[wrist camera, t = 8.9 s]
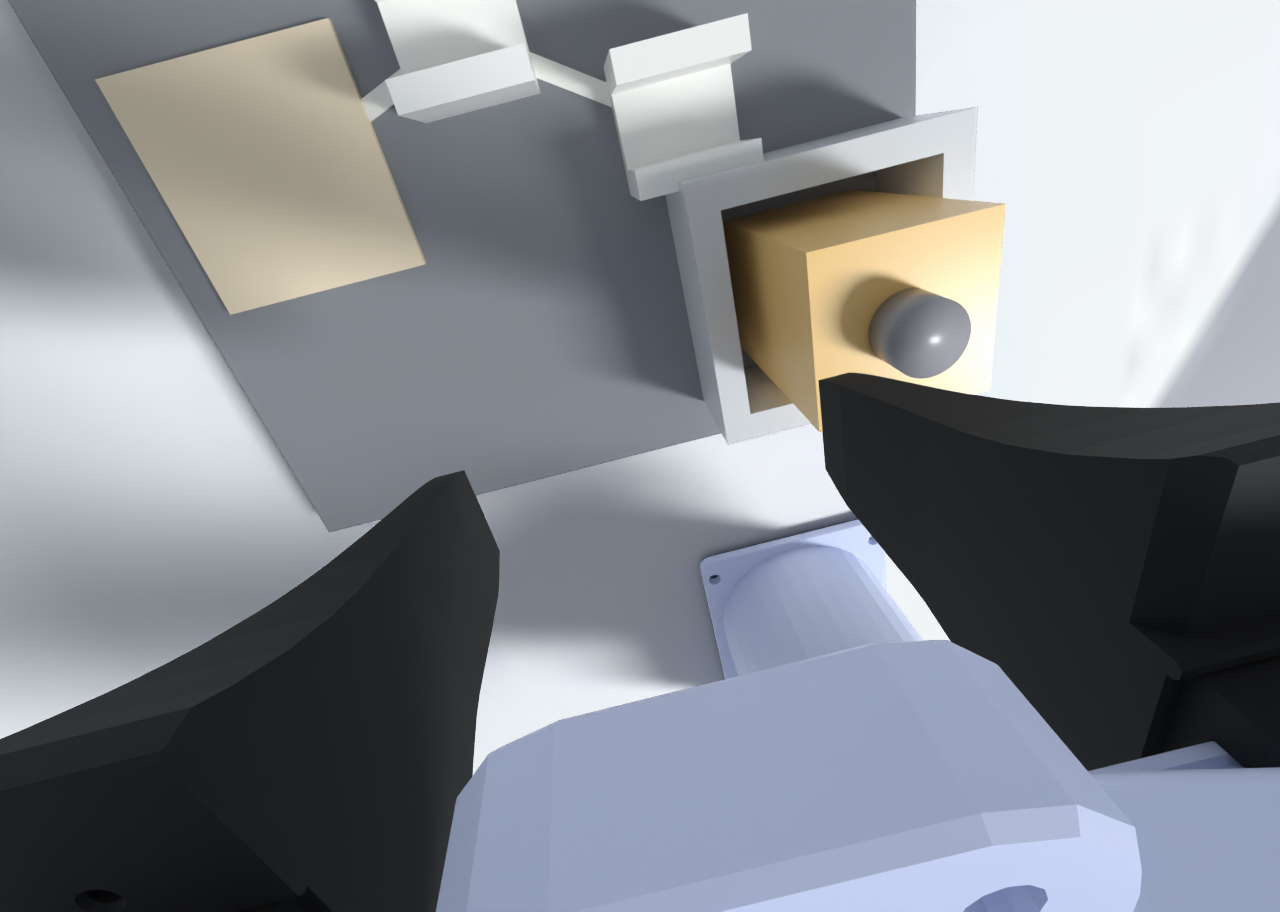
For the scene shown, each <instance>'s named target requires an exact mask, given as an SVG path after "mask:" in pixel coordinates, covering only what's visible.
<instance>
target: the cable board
mask: <svg viewBox="0 0 1280 912" xmlns="http://www.w3.org/2000/svg"><path fill="white" fill-rule="evenodd" d="M8 1H9V3H10V4H11V6H12V8H13V9H14V11H15V13H16V14H17V16H18V18H19V19H20V21H21V23H22V24H23V26H24V28H25V29H26V31H27V33H28V34H29V36H30V38H31V39H32V41H33V43H34V44H35V46H36V48H37V49H38V51H39V52H40V54H41V56H42V57H43V59H44V61H45V62H46V64H47V66H48V67H49V69H50V71H51V72H52V74H53V76H54V77H55V79H56V81H57V82H58V84H59V86H60V87H61V89H62V91H63V92H64V94H65V96H66V97H67V99H68V101H69V102H70V104H71V105H72V107H73V109H74V110H75V112H76V114H77V115H78V117H79V119H80V120H81V122H82V124H83V125H84V127H85V129H86V130H87V132H88V134H89V135H90V137H91V139H92V140H93V142H94V144H95V145H96V147H97V149H98V150H99V152H100V154H101V155H102V157H103V158H104V160H105V162H106V163H107V165H108V167H109V168H110V170H111V172H112V173H113V175H114V177H115V178H116V180H117V182H118V183H119V185H120V187H121V188H122V190H123V192H124V193H125V195H126V197H127V198H128V200H129V202H130V203H131V205H132V207H133V208H134V210H135V211H136V213H137V215H138V216H139V218H140V220H141V221H142V223H143V225H144V226H145V228H146V230H147V231H148V233H149V235H150V236H151V238H152V240H153V241H154V243H155V245H156V246H157V248H158V250H159V251H160V253H161V255H162V256H163V258H164V260H165V261H166V263H167V265H168V266H169V268H170V269H171V271H172V273H173V274H174V276H175V278H176V279H177V281H178V283H179V284H180V286H181V288H182V289H183V291H184V293H185V294H186V296H187V298H188V299H189V301H190V303H191V304H192V306H193V308H194V309H195V311H196V313H197V314H198V316H199V318H200V319H201V321H202V322H203V324H204V326H205V327H206V329H207V331H208V332H209V334H210V336H211V337H212V339H213V341H214V342H215V344H216V346H217V347H218V349H219V351H220V352H221V354H222V356H223V357H224V359H225V361H226V362H227V364H228V366H229V367H230V369H231V371H232V372H233V374H234V375H235V377H236V379H237V380H238V382H239V384H240V385H241V387H242V389H243V390H244V392H245V394H246V395H247V397H248V399H249V400H250V402H251V404H252V405H253V407H254V409H255V410H256V412H257V414H258V415H259V417H260V419H261V420H262V422H263V424H264V425H265V427H266V428H267V430H268V432H269V433H270V435H271V437H272V438H273V440H274V442H275V443H276V445H277V447H278V448H279V450H280V452H281V453H282V455H283V457H284V458H285V460H286V462H287V463H288V465H289V467H290V468H291V470H292V472H293V473H294V475H295V477H296V478H297V480H298V482H299V483H300V485H301V486H302V488H303V490H304V491H305V493H306V495H307V496H308V498H309V500H310V501H311V503H312V505H313V506H314V508H315V510H316V511H317V513H318V515H319V516H320V518H321V520H322V521H323V523H324V525H325V526H326V528H327V530H328V531H329V532H333V531H337V530H341V529H345V528H348V527H352V526H356V525H360V524H364V523H368V522H372V521H376V520H380V519H383V518H384V517H386V516H387V515H388V514H389V513H390V512H391V511H393V510H394V509H395V508H396V507H397V506H398V505H400V504H401V503H402V502H403V501H404V500H405V499H407V498H408V497H409V496H410V495H411V494H413V493H414V492H415V491H416V490H417V489H419V488H420V487H421V486H423V485H424V484H425V483H427V482H428V481H430V480H432V479H433V478H435V477H439V476H443V475H447V474H451V473H455V472H459V471H463V470H465V473H466V475H467V477H468V480H469V482H470V484H471V487H472V489H473V491H474V493H475V495H479V494H483V493H487V492H491V491H495V490H499V489H503V488H506V487H510V486H514V485H518V484H522V483H526V482H530V481H534V480H538V479H542V478H546V477H550V476H554V475H558V474H562V473H566V472H570V471H574V470H578V469H582V468H586V467H589V466H593V465H597V464H601V463H605V462H609V461H613V460H617V459H621V458H625V457H629V456H633V455H637V454H641V453H645V452H649V451H653V450H657V449H661V448H665V447H668V446H672V445H676V444H680V443H684V442H688V441H692V440H696V439H700V438H704V437H708V436H712V435H716V434H720V433H722V435H723V437H724V438H725V440H726V442H727V444H728V445H729V444H733V443H737V442H741V441H745V440H749V439H753V438H757V437H761V436H765V435H769V434H773V433H776V432H780V431H784V430H788V429H792V428H796V427H800V426H804V425H808V424H811V422H810V421H809V420H808V419H807V418H806V417H805V416H804V415H803V414H802V413H801V412H800V410H799V409H798V408H797V407H796V406H795V405H794V404H793V403H792V402H791V401H790V400H789V398H788V397H787V396H786V395H785V394H784V393H783V392H782V391H781V390H780V389H779V388H778V387H777V385H776V384H775V383H774V382H773V381H772V380H771V379H770V378H769V377H768V376H767V375H766V373H765V372H764V371H763V370H762V369H761V368H760V367H759V366H758V365H757V364H756V363H755V361H754V360H753V359H752V358H751V357H750V356H749V355H748V354H747V353H746V352H745V351H744V349H743V348H742V347H741V346H740V339H739V332H738V325H737V319H736V312H735V305H734V298H733V291H732V285H731V278H730V271H729V263H728V256H727V249H726V241H725V234H724V227H723V221H724V220H728V219H732V218H736V217H740V216H745V215H749V214H753V213H757V212H761V211H765V210H769V209H773V208H777V207H781V206H785V205H789V204H793V203H797V202H801V201H805V200H810V199H814V198H818V197H822V196H826V195H830V194H834V193H838V192H842V191H846V190H850V189H851V190H862V191H873V192H883V193H894V194H905V195H916V196H926V197H937V198H948V199H959V200H970V201H973V196H974V176H975V155H976V135H977V115H978V107H974V108H967V109H960V110H953V111H946V112H938V113H931V114H924V115H917V116H915V92H916V0H8Z"/></svg>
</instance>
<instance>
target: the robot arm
mask: <svg viewBox="0 0 1280 912" xmlns="http://www.w3.org/2000/svg"><path fill="white" fill-rule="evenodd" d="M818 381H819V393H820V406H821V418H822V430H823V442H824V455H825V467H826V470H827V472H828V474H829V476H830V477H831V479H832V481H833V483H834V484H835V486H836V488H837V490H838V491H839V493H840V495H841V496H842V498H843V499H844V501H845V503H846V504H847V506H848V507H849V508H850V510H851V511H852V512H853V513H854V515H855V516H856V517H857V518H858V520H854V521H850V522H846V523H842V524H838V525H834V526H830V527H826V528H822V529H818V530H814V531H810V532H806V533H802V534H798V535H794V536H790V537H786V538H782V539H778V540H774V541H770V542H766V543H762V544H758V545H754V546H750V547H746V548H742V549H738V550H734V551H730V552H726V553H722V554H718V555H714V556H710V557H707V558H705V559H704V560H703V561H702V562H701V564H700V571H701V576H702V580H703V584H704V589H705V593H706V598H707V602H708V606H709V611H710V615H711V620H712V624H713V629H714V633H715V637H716V642H717V646H718V651H719V655H720V659H721V664H722V668H723V673H724V677H725V679H724V680H720V681H716V682H712V683H708V684H704V685H700V686H696V687H692V688H688V689H684V690H680V691H676V692H672V693H668V694H664V695H659V696H655V697H651V698H647V699H643V700H639V701H635V702H631V703H627V704H623V705H619V706H615V707H611V708H607V709H603V710H599V711H595V712H591V713H587V714H583V715H579V716H575V717H571V718H567V719H563V720H559V721H557V722H554V723H552V724H550V725H548V726H546V727H544V728H541V729H539V730H537V731H535V732H533V733H531V734H528V735H526V736H524V737H522V738H520V739H518V740H515V741H513V742H511V743H509V744H507V745H505V746H502V747H501V748H499V749H497V750H495V751H493V752H492V753H490V754H488V756H487V757H486V758H485V760H484V761H483V763H482V764H481V765H480V767H479V768H478V769H477V771H476V772H475V774H474V775H473V776H472V773H473V757H474V743H475V730H476V716H477V708H478V701H479V694H480V688H481V683H482V678H483V673H484V667H485V662H486V657H487V652H488V647H489V641H490V636H491V631H492V626H493V620H494V615H495V609H496V604H497V598H498V589H499V549H498V546H497V544H496V542H495V539H494V537H493V535H492V533H491V530H490V528H489V526H488V523H487V521H486V519H485V516H484V514H483V512H482V510H481V507H480V505H479V503H478V500H477V498H476V496H475V493H474V491H473V489H472V487H471V484H470V482H469V480H468V477H467V475H466V473H465V470H463V471H459V472H455V473H451V474H447V475H443V476H439V477H435V478H433V479H432V480H430V481H428V482H427V483H425V484H424V485H423V486H421V487H420V488H419V489H417V490H416V491H415V492H414V493H413V494H411V495H410V496H409V497H408V498H407V499H405V500H404V501H403V502H402V503H401V504H400V505H398V506H397V507H396V508H395V509H394V510H393V511H391V512H390V513H389V514H388V515H387V516H386V517H384V518H383V519H382V520H381V521H380V522H379V523H377V524H376V525H375V526H374V527H373V528H372V529H370V530H369V531H368V532H367V533H366V534H365V535H363V536H362V537H361V538H360V539H358V540H357V541H356V542H355V543H353V544H352V545H351V546H350V547H348V548H347V549H346V550H345V551H343V552H342V553H341V554H340V555H338V556H337V557H336V558H335V559H333V560H332V561H331V562H330V563H328V564H327V565H326V566H325V567H323V568H322V569H321V570H319V571H318V572H317V573H315V574H314V575H312V576H311V577H310V578H308V579H307V580H305V581H304V582H303V583H301V584H300V585H298V586H297V587H295V588H294V589H292V590H291V591H289V592H288V593H286V594H285V595H284V596H282V597H281V598H279V599H278V600H276V601H275V602H273V603H272V604H270V605H268V606H267V607H265V608H264V609H262V610H260V611H259V612H257V613H255V614H254V615H252V616H250V617H249V618H247V619H245V620H243V621H242V622H240V623H238V624H237V625H235V626H233V627H232V628H230V629H228V630H227V631H225V632H223V633H222V634H220V635H218V636H216V637H215V638H213V639H211V640H210V641H208V642H206V643H204V644H203V645H201V646H199V647H197V648H195V649H193V650H191V651H190V652H188V653H186V654H184V655H182V656H180V657H178V658H176V659H174V660H173V661H171V662H169V663H167V664H165V665H163V666H161V667H159V668H157V669H155V670H153V671H151V672H149V673H147V674H145V675H143V676H141V677H139V678H137V679H135V680H133V681H131V682H129V683H127V684H125V685H122V686H120V687H118V688H116V689H114V690H112V691H110V692H108V693H106V694H103V695H101V696H99V697H97V698H94V699H92V700H90V701H88V702H85V703H83V704H81V705H78V706H76V707H74V708H72V709H69V710H67V711H65V712H63V713H60V714H58V715H56V716H54V717H51V718H49V719H47V720H44V721H42V722H40V723H38V724H35V725H33V726H31V727H29V728H26V729H24V730H22V731H19V732H17V733H14V734H12V735H10V736H7V737H5V738H2V739H0V912H1280V403H1269V404H1256V405H1238V406H1213V407H1190V408H1189V407H1187V408H1119V407H1085V406H1066V405H1054V404H1043V403H1032V402H1021V401H1012V400H1004V399H997V398H991V397H984V396H978V395H972V394H965V393H960V392H954V391H949V390H944V389H939V388H933V387H929V386H924V385H919V384H914V383H909V382H905V381H900V380H895V379H890V378H886V377H881V376H875V375H869V374H863V373H845V374H841V375H837V376H833V377H829V378H825V379H821V380H818ZM871 536H872V537H873V538H872V539H869V538H870V537H871ZM886 554H887V555H888V556H889V557H890V558H891V560H892V561H893V562H894V563H895V564H896V566H897V567H898V568H899V569H900V570H901V572H902V573H903V574H904V575H905V577H906V578H907V579H908V580H909V581H910V583H911V584H912V585H913V586H914V588H915V589H916V590H917V592H918V593H919V594H920V596H921V597H922V598H923V600H924V601H925V602H926V604H927V605H928V607H929V608H930V610H931V612H932V613H933V615H934V616H935V618H936V619H937V621H938V622H939V624H940V625H941V627H942V628H943V630H944V632H945V633H946V635H947V636H948V638H949V639H950V641H951V642H950V641H948V640H928V641H923V639H922V638H921V636H920V635H919V634H918V632H917V631H916V630H915V628H914V627H913V626H912V624H911V623H910V622H909V620H908V619H907V617H906V616H905V615H904V613H903V612H902V611H901V609H900V608H899V607H898V605H897V604H896V602H895V601H894V600H893V598H892V597H891V596H890V594H889V593H888V592H887V590H886ZM713 575H718V576H717V577H716V578H714V579H710V577H711V576H713Z"/></svg>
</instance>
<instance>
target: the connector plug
mask: <svg viewBox="0 0 1280 912" xmlns="http://www.w3.org/2000/svg"><path fill="white" fill-rule="evenodd" d="M1004 216H1005V204H1002V203H991V202H980V201H970V200H959V199H948V198H937V197H926V196H916V195H905V194H894V193H883V192H873V191H862V190H851V189H850V190H846V191H842V192H838V193H834V194H830V195H826V196H822V197H818V198H814V199H810V200H805V201H801V202H797V203H793V204H789V205H785V206H781V207H777V208H773V209H769V210H765V211H761V212H757V213H753V214H749V215H745V216H740V217H736V218H732V219H728V220H724V221H723V227H724V234H725V241H726V249H727V256H728V263H729V271H730V278H731V285H732V291H733V298H734V305H735V312H736V319H737V325H738V332H739V339H740V346H741V347H742V348H743V349H744V351H745V352H746V353H747V354H748V355H749V356H750V357H751V358H752V359H753V360H754V361H755V363H756V364H757V365H758V366H759V367H760V368H761V369H762V370H763V371H764V372H765V373H766V375H767V376H768V377H769V378H770V379H771V380H772V381H773V382H774V383H775V384H776V385H777V387H778V388H779V389H780V390H781V391H782V392H783V393H784V394H785V395H786V396H787V397H788V398H789V400H790V401H791V402H792V403H793V404H794V405H795V406H796V407H797V408H798V409H799V410H800V412H801V413H802V414H803V415H804V416H805V417H806V418H807V419H808V420H809V421H810V422H811V424H812V425H813V426H814V427H815V428H816V429H817V430H818V431H819V432H821V431H823V430H822V418H821V406H820V393H819V381H818V380H821V379H825V378H829V377H833V376H837V375H841V374H845V373H863V374H869V375H875V376H881V377H886V378H890V379H895V380H900V381H905V382H909V383H914V384H919V385H924V386H929V387H933V388H939V389H944V390H949V391H954V392H960V393H965V394H972V395H974V394H978V393H982V392H986V391H990V383H991V371H992V359H993V347H994V335H995V323H996V311H997V299H998V287H999V275H1000V263H1001V251H1002V239H1003V227H1004Z"/></svg>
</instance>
